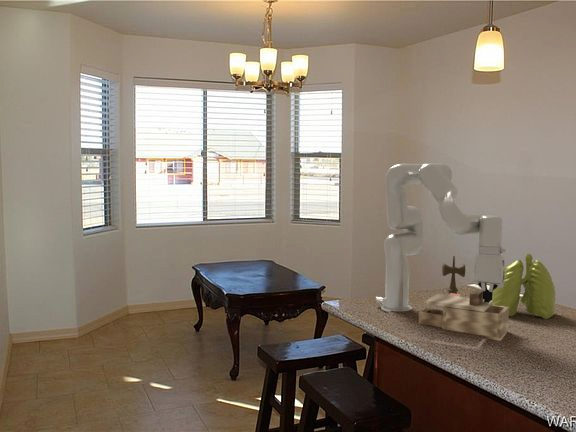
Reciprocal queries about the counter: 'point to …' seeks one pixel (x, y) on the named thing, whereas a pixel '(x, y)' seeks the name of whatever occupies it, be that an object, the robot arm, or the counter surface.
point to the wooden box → (469, 320)
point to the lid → (461, 301)
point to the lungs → (527, 289)
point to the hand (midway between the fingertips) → (487, 301)
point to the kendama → (453, 274)
